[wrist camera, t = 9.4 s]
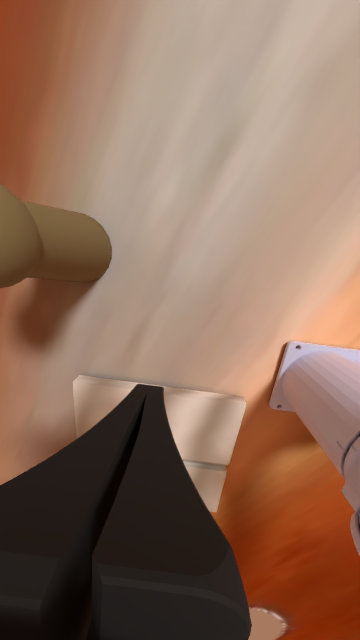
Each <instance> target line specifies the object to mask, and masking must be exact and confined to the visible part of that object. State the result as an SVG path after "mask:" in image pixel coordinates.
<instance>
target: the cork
mask: <svg viewBox="0 0 360 640" xmlns="http://www.w3.org/2000/svg"><path fill="white" fill-rule="evenodd" d="M111 257H112V247H111V243H110V240H109V236H108V235H107V233H106V231H105V230H104V228H103V227H102V226H101V225H100V224H99V223H98V222H97V221H96V220H95V219H93V218H91V217H89V216H87V215H85V214H82V213H77V212H72V211H68V210H63V209H58V208H53V207H49V206H44V205H39V204H35V203H30V202H25V201H21V200H20V199H18V198H17V197H16V196H15V195H14V194H13V193H12V192H10V191H9V190H8V189H7V188H5V187H4V186H3V185H1V184H0V288H4V287H9V286H12V285H15V284H17V283H19V282H21V281H22V280H24V279H25V278H27V277H28V278H40V279H52V280H64V281H76V282H89V281H94V280H96V279H97V278H99V277H101V276H102V275H103V274H104V273H105V271H106V270H107V269H108V267H109V264H110V261H111Z"/></svg>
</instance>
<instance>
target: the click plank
mask: <svg viewBox="0 0 360 640" xmlns="http://www.w3.org/2000/svg"><path fill="white" fill-rule="evenodd" d="M137 384H143V383H135V382H127V381H120V380H112V379H105V378H97V377H90V376H82V375H79V376H78V377H77V378H76V379H75V380H74V381H73V394H74V411H75V428H76V439H78V438H79V437H80V436H82V435H83V434H84V433H86V432H87V431H88V430H90V429H91V428H92V427H93V426H94V425H96V424H97V423H98V422H99V421H100V420H102V419H103V418H104V417H105V416H106V415H107V414H108V413H110V412H111V411H112V410H113V409H114V408H115V407H116V406H117V405H118V404H119V403H120V402H121V401H122V400H123V399H124V398H125V397H126V396H127V395H128V394H129V393H130V392H131V390H132V389H133V388H134V387H135V386H136V385H137ZM146 385H150V384H146ZM153 386H158V385H153ZM161 387H163V388H164V403H165V409H166V413H167V417H168V421H169V425H170V428H171V431H172V435H173V438H174V440H175V443H176V446H177V448H178V451H179V453H180V456H181V458H182V459H187V460H195V461H203V462H210V463H218V464H226V465H229V463H230V460H231V456H232V453H233V449H234V446H235V443H236V439H237V436H238V432H239V429H240V425H241V422H242V419H243V415H244V412H245V408H246V402H245V400H244V397H241V396H234V395H226V394H218V393H211V392H203V391H196V390H188V389H181V388H173V387H165V386H161Z"/></svg>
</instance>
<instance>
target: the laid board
mask: <svg viewBox="0 0 360 640" xmlns="http://www.w3.org/2000/svg"><path fill="white" fill-rule="evenodd" d="M182 460H183V462H184V465H185V467H186V469H187V471H188V473H189V475H190V477H191V479H192V481H193V483H194V485H195V487H196V489H197V491H198V493H199V494H200V496H201V498H202V500H203V501H204V503H205V505H206V507H207V508H208V510H209V511H211V512H217V508H218V505H219V501H220V497H221V493H222V489H223V486H224V482H225V478H226V474H227V469H226V464H218V463H210V462H203V461H195V460H187V459H182Z"/></svg>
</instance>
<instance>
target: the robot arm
mask: <svg viewBox="0 0 360 640" xmlns="http://www.w3.org/2000/svg"><path fill="white" fill-rule="evenodd" d="M297 345H299V347H298V348H296V346H297ZM277 405H279V406H277ZM269 406H270V408H271V409H274V410H282V411H289V412H295V413H296V414H297V415H298V417H299V418H300V419H301V421H302V422H303V424H304V425H305V426H306V428H307V429H308V430H309V432H310V433H311V434H312V436H313V437H314V438H315V440H316V441H317V443H318V444H319V445H320V447H321V448H322V449H323V451H324V452H325V453H326V455H327V456H328V458H329V459H330V460H331V462H332V463H333V464H334V466H335V467H336V468H337V470H338V471H339V473H340V474H341V475H342V477H343V478H344V479H345V485H344V487H343V489H342V493H343V494H344V496H345V497H346V499H347V500H348V502H349V503H350V505H351V506H352V508H353V509H354V511H355V513H354V514H353V515H352V518H351V522H350V526H351V533H352V537H353V540H354V543H355V546H356V548H357V551H358V553H359V555H360V350H358V349H350V348H343V347H335V346H328V345H320V344H313V343H305V342H297V341H290V342H288V343H287V345H286V348H285V352H284V355H283V358H282V362H281V365H280V368H279V372H278V375H277V378H276V382H275V385H274V388H273V391H272V395H271V398H270V401H269ZM251 626H252V624H251V619H250V613H249V607H248V603H247V599H246V595H245V591H244V587H243V583H242V579H241V576H240V572H239V569H238V566H237V563H236V560H235V556H234V553H233V550H232V548H231V545H230V543H229V542H228V540H227V539H226V537H225V536H224V534H223V532H222V531H221V529H220V528H219V526H218V525H217V523H216V521H215V520H214V518H213V517H212V515H211V513H210V512H209V510H208V508H207V507H206V505H205V503H204V501H203V500H202V498H201V496H200V494H199V493H198V491H197V489H196V487H195V485H194V483H193V481H192V479H191V477H190V475H189V473H188V471H187V469H186V467H185V465H184V462H183V460H182V458H181V456H180V453H179V451H178V448H177V446H176V443H175V440H174V438H173V435H172V431H171V428H170V425H169V421H168V417H167V413H166V409H165V403H164V388H163V387H161V386H153V385H146V384H137V385H136V386H135V387H134V388H133V389H132V390H131V392H130V393H129V394H128V395H127V396H126V397H125V398H124V399H123V400H122V401H121V402H120V403H119V404H118V405H117V406H116V407H115V408H114V409H113V410H112V411H111V412H110V413H108V414H107V415H106V416H105V417H104V418H103V419H102V420H100V421H99V422H98V423H97V424H96V425H94V426H93V427H92V428H91V429H90V430H88V431H87V432H86V433H84V434H83V435H82V436H80V437H79V438H78V439H76V440H75V441H73V442H72V443H71V444H69V445H68V446H66V447H65V448H63V449H62V450H60V451H59V452H57V453H56V454H54V455H53V456H51V457H50V458H48V459H46V460H45V461H43V462H41V463H40V464H38V465H36V466H34V467H33V468H31V469H29V470H28V471H26V472H24V473H22V474H21V475H19V476H17V477H15V478H13V479H12V480H10V481H8V482H6V483H4V484H2V485H0V640H248V638H249V636H250V632H251Z"/></svg>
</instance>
